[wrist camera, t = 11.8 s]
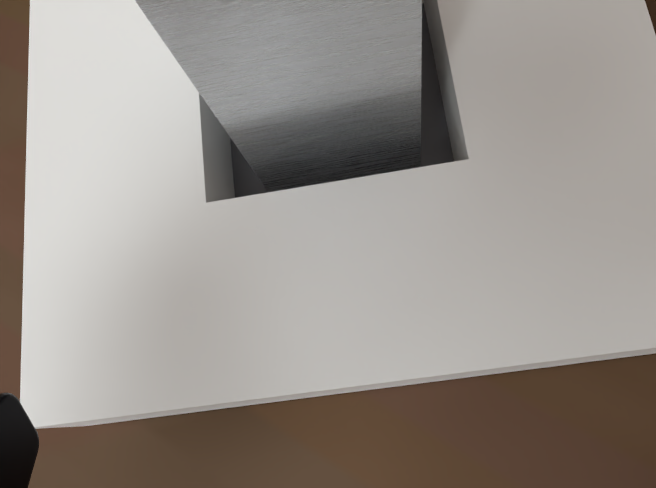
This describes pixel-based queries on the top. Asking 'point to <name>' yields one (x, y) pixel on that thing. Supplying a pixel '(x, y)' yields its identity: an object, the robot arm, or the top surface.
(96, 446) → the top surface
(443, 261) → the socket plate
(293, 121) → the grey square peg
